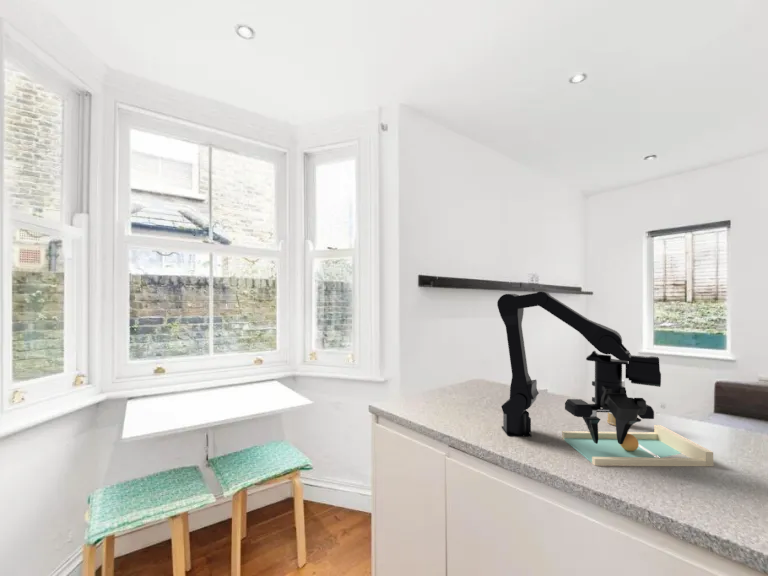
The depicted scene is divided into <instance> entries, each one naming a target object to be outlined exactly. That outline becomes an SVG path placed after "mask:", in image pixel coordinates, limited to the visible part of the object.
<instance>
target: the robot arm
mask: <svg viewBox="0 0 768 576" xmlns="http://www.w3.org/2000/svg"><path fill="white" fill-rule="evenodd" d="M496 303H497V309H498V312H499V315H500V318H501V319H502V322H503V324H504V327H505V331H506V339H507V345H508V346H507V347H508V353H509V361H510V367H511V380H510V386H509V387H510V389H509V399H508V400H506V402H504V403H503V404H502V405H501V406H500V407H501V411H502V413H503V417H502V418H503V421H502V423H503V425H502V426H501V429H502V431H503V432H504V433H505V435H507V437H517V438H518V437H519V438H520V437H523V438H526V437H527V438H532V434H531V432H532V418H531V417H530V413H529V411H528V409H530V408H531V406H532V405H533V404H534V403H535V402H536V400H537V396H538V395H539V394H540V393H539V391H538V388H537V384H538V383H537V381H538V380H537V379H532V378H531V376H530V375H529V374H530V373H529V368H528V360H527V356H526V355H527V353H526V349H525V340H524V333H523V325H522V324H523V318H524V312H525V311H524V309H527V308H532V307H538V306H539V307H540V308H541V309H543V310H545V311H547V312H548V313H550V314H551V315H553V316H554V317H556V318H557V319H558V320H560V321H562V322H563V323H565V324H566V325H568V326H569V327H571V328H572V329H574V330H576V331H577V332H578V333H579V334H580V335H581V336H582V337H583V338H585V340H587V342H588V343H589V344H590V345H592V346H593V347H594V348H595V349H596V350H597V351H598V352H599V353H600V354H599V353H598V352H597V351H596V350H593V351H592V352H591V353H590V354H589V355H587V356H586V358H585V360H586V361H589V362H594V380H593V381H591V385H592V386H593V387H594V397H593V396H591V402H593V403H588V402H586V401H585V400H583V399H581V398H579V399H578V398H577V399H575V398H573V399H572V398H567V400H566V401H565V402H564V410H565V411H567V412H568V413H570V414H571V415H573V416H574V417H577V418H582V419H583V421H584V423H585V425H586V427H587V430H588V431H589V432H590V434H591V436H592V439H593V441H594V443H596V444H598V432H599V423H600V421H601V418H599V417H598V416H597V414H598V413H608V412H611V413H612V414H613V416H614V418H615V420H616V426H615V432H616V434H617V440H618V443H619V444H622V443H623V441H624V439H625V437H626V435H627V433H628V432H630V431H629V430H630V429H631V427H632V426H633V425H634V424H636V423H640V422H641V421H642V420H643V419H644V420H654V419H655V411H654V408H653V407H652V406H651V405H649V404H647V401H646V400H645V399H644V398H643V397H628V394H627V389H626V387H623V386H622V380H623V365H625V379H628V381H630V383H631V384H634V385H640V386H641V385H643V386H649V387H650V386H651V387H658V388H659V387H661V385H662V373H661V371H660V369H661V367H660V366H661V365H660V357H659V356H654V355H653V356H652V355H651V356H643V355H632V354H631V352H630V350H628V349H627V347H626V346H624V344H623V338H622V337H623V336H622V335H621V334H620V333H619V332H618V331H617V330H615V329H612V328H610V327H608V326H605V325H603V324H601V323H598V322H596V321H593V320H590V319H589V318H587V317H585V316H584V315H582V314H580V313H579V312H577V311H576V310H575V309H573V308H571V307H569V306H568V305H566V304H565V303H563V302H562V301H560V300H558V299H557V298H555V297H554V296H552V295H551V294H550V293H549V292H547V291H540V290H539V291H537V292H534V293H527V294H521V295H519V294H516V293H505V294H503V295H501V296H500V297H499V298H498V300H497V302H496ZM601 353H602V354H601ZM612 356H613V357H614V358H612Z"/></svg>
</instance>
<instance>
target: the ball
mask: <svg viewBox="0 0 768 576" xmlns="http://www.w3.org/2000/svg"><path fill="white" fill-rule="evenodd" d="M620 445H621V447H622V448H624V449H625V450H627V451H634V450H636V449H637V448H638V446H639V443H638V440H637V439H636V437H634V436H633V435H631V434H627V435H626V437H625V439H624V441H623V443H622V444H620Z"/></svg>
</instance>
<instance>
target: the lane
mask: <svg viewBox="0 0 768 576" xmlns="http://www.w3.org/2000/svg"><path fill="white" fill-rule="evenodd" d="M653 428H654V429H653V431H651V432H650V431H647V432H645V431H628V433H627V434H631V435H633V436H634V437H636V439H637V440H638V443H639V446H638V448H637V449H636V450H634V451H627V450H625V449H624V448H622V447H621V445H620V444H619V443H618V440H617V434H616V431H598V444H596V443H594V441H593V439H592V436H591V434H590V432H589V430H588V431H586V430H585V431H583V430H582V431H581V430H580V431H579V430H576V431H575V430H574V431H573V430H572V431H571V430H570V431H569V430H562V431H561V439H563V440H564V442H566V443H567V444H568V445H569V446H571V447H572V448H573V449H575V451H577V452H578V453H579V454H580V455H581V456H582V457H584V458H585V459H587V461H589V462H590V463H591V464H592V465H594V466H598V467H599V466H602V467H603V466H604V467H608V466H610V467H611V466H612V467H619V466H624V467H627V466H628V467H629V466H630V467H714V451H712V450H710V449H708V448H707V447H704V446H702V445H700V444H699V443H696V442H694V441H693V440H691V439H689V438H686V437H685V436H682V435H681V434H679V433H677V432H675V431H673V430H671V429H669V428H667V427H665V426H663V425H661V424H654V425H653ZM563 440H562V441H563ZM680 454H682V455H684V456H686V457H672V456H677V455H680ZM657 455H658V456H659V457H660V458H659V457H657ZM654 456H656V457H654Z"/></svg>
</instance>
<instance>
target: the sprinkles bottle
mask: <svg viewBox="0 0 768 576" xmlns="http://www.w3.org/2000/svg"><path fill="white" fill-rule="evenodd" d="M622 386H623V387H625V386H626V383H625V380H624V379H622ZM625 388H626V387H625ZM606 422H607V423H608V424H609V425H612V426H614V427H616V420H615V418H614V416H613V414H612V413H611V412H607V419H606Z"/></svg>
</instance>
